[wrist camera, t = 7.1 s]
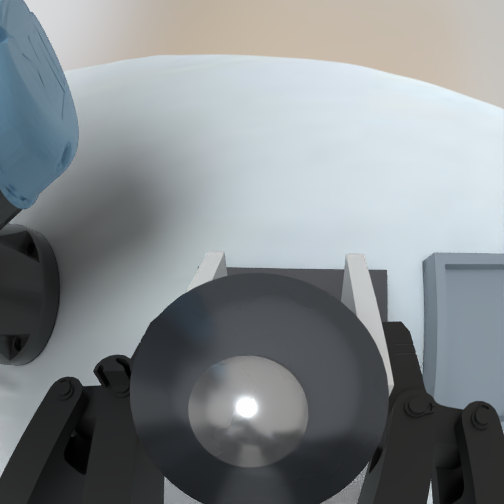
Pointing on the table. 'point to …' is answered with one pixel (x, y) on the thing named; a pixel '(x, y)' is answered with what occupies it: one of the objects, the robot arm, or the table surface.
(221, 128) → the table surface
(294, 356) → the battery cell
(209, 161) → the table surface
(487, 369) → the tray
